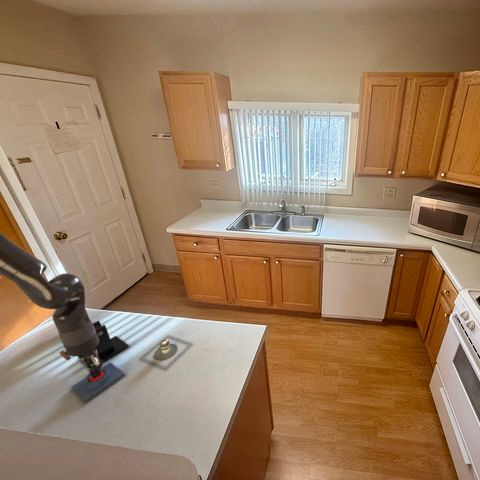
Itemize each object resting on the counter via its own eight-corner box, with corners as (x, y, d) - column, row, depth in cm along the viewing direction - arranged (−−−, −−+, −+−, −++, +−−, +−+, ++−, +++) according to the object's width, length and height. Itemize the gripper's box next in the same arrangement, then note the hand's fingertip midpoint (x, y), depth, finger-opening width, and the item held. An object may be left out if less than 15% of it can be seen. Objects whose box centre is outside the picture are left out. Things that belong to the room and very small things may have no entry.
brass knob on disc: (140, 359, 94) (137, 349, 92) (167, 336, 105) (165, 327, 103) (165, 369, 91) (162, 359, 89) (191, 344, 101) (189, 335, 99)
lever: (69, 361, 84) (63, 358, 83) (62, 355, 86) (57, 351, 85) (105, 331, 92) (101, 328, 91) (98, 326, 94) (94, 323, 93)
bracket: (91, 370, 89) (79, 342, 84) (79, 359, 93) (67, 332, 88) (128, 347, 99) (120, 321, 94) (116, 338, 103) (107, 312, 97)
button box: (85, 402, 79) (82, 396, 78) (72, 389, 83) (69, 382, 81) (124, 375, 88) (122, 369, 87) (111, 364, 91) (108, 358, 90)
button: (94, 386, 82) (92, 382, 82) (88, 380, 84) (87, 377, 83) (107, 377, 85) (105, 373, 85) (101, 372, 87) (100, 369, 86)
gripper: (53, 335, 77) (73, 375, 84) (73, 353, 71) (93, 394, 78) (83, 320, 83) (99, 359, 90) (104, 336, 77) (120, 376, 84)
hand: (96, 375), depth 84 cm, fingers closed
